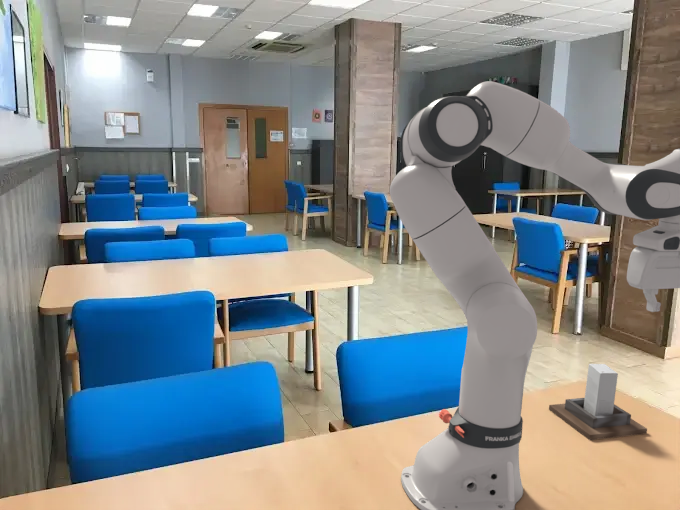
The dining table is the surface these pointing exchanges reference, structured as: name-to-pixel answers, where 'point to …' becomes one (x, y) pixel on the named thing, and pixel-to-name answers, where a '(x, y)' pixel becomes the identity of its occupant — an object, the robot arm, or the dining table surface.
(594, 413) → the skincare box
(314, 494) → the dining table surface
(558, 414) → the collar stand
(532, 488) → the dining table surface
